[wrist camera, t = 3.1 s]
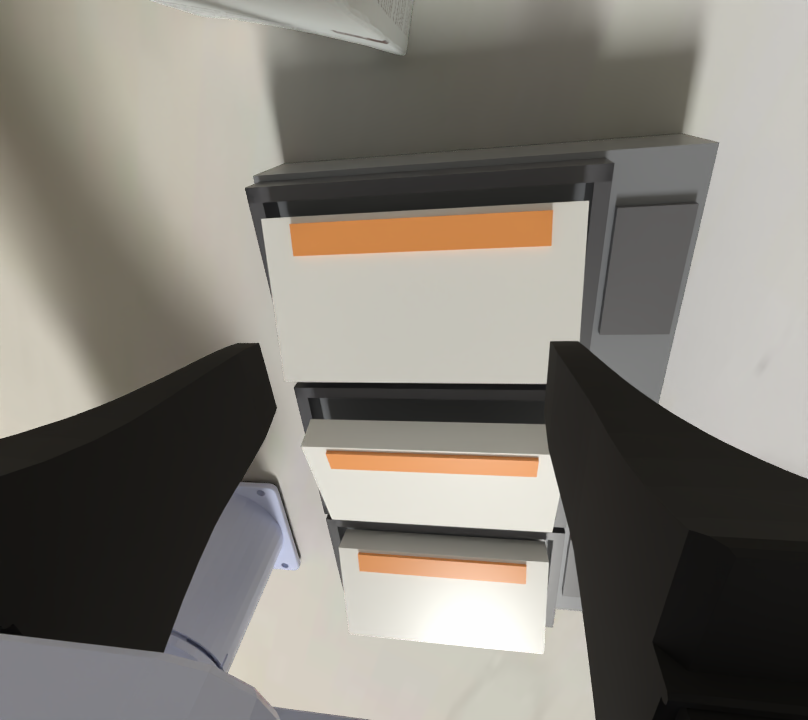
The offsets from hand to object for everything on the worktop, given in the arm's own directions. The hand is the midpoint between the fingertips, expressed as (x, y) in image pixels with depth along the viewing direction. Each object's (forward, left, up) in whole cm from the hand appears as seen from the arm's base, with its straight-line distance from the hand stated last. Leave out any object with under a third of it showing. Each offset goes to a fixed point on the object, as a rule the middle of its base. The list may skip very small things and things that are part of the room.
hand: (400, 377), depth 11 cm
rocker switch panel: (+1, -10, -10) cm, 14 cm away
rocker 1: (0, 0, -5) cm, 5 cm away
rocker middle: (0, -8, -5) cm, 10 cm away
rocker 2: (0, -16, -5) cm, 17 cm away
